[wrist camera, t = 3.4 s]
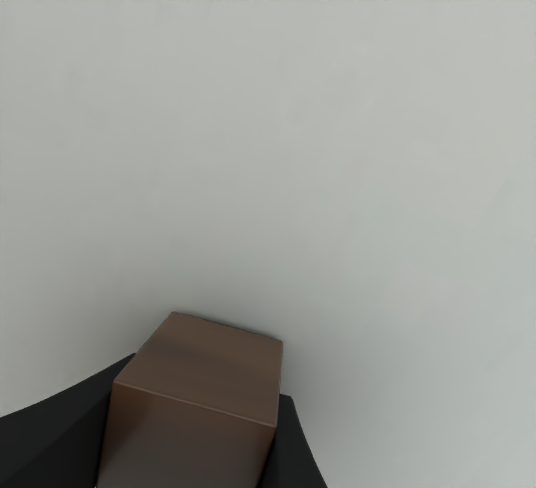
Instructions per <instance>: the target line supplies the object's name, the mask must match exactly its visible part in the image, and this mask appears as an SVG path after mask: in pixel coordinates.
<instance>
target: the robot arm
mask: <svg viewBox="0 0 536 488" xmlns="http://www.w3.org/2000/svg"><path fill="white" fill-rule="evenodd" d="M135 355H136V353H133V354H131V355H129V356H127V357H126V358H124V359H122V360H120V361H118V362H116V363H115V364H113V365H111V366H109V367H108V368H106V369H104V370H102V371H100V372H99V373H97V374H95V375H93V376H91V377H89V378H87V379H85V380H84V381H82V382H80V383H78V384H76V385H74V386H72V387H70V388H68V389H66V390H64V391H62V392H60V393H57V394H55V395H53V396H51V397H49V398H47V399H45V400H43V401H40V402H38V403H36V404H33V405H31V406H29V407H26V408H24V409H21V410H19V411H16V412H14V413H11V414H8V415H6V416H3V417H1V418H0V488H95V486H96V482H97V476H98V470H99V464H100V458H101V451H102V445H103V439H104V433H105V427H106V421H107V415H108V409H109V403H110V397H111V391H112V385H113V380H114V379H115V378H116V377H117V376H118V374H119V373H120V372H121V371H122V370H123V369H124V367H125V366H126V365H127V364H128V363H129V362H130V360H131V359H132V358H133V357H134V356H135ZM258 488H328V487H327V485H326V483H325V481H324V479H323V477H322V475H321V473H320V471H319V469H318V467H317V464H316V462H315V460H314V458H313V455H312V453H311V450H310V448H309V445H308V443H307V440H306V438H305V435H304V433H303V430H302V427H301V424H300V421H299V418H298V415H297V412H296V409H295V406H294V402H293V399H292V398H291V396H287V395H284V394H280V393H279V405H278V418H277V428H276V431H275V434H274V437H273V441H272V444H271V447H270V450H269V454H268V457H267V460H266V463H265V467H264V470H263V473H262V476H261V480H260V483H259V486H258Z"/></svg>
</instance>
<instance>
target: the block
mask: <svg viewBox="0 0 536 488" xmlns="http://www.w3.org/2000/svg"><path fill="white" fill-rule="evenodd" d="M282 353H283V342H282V341H279V340H276V339H272V338H268V337H265V336H261V335H257V334H254V333H250V332H246V331H243V330H239V329H235V328H232V327H228V326H224V325H221V324H217V323H213V322H210V321H206V320H202V319H199V318H195V317H191V316H188V315H184V314H180V313H177V312H172V313H171V314H170V315H169V316H168V317H167V318H166V320H165V321H164V322H163V323H162V324H161V325H160V327H159V328H158V329H157V330H156V331H155V332H154V334H153V335H152V336H151V337H150V338H149V339H148V341H147V342H146V343H145V344H144V345H143V346H142V348H141V349H140V350H139V351H138V352H137V353H136V355H135V356H134V357H133V358H132V359H131V360H130V362H129V363H128V364H127V365H126V366H125V367H124V369H123V370H122V371H121V372H120V373H119V374H118V376H117V377H116V378H115V379H114V380H113V385H112V391H111V397H110V403H109V409H108V415H107V421H106V427H105V433H104V439H103V445H102V451H101V458H100V464H99V470H98V476H97V482H96V488H258V486H259V483H260V480H261V476H262V473H263V470H264V467H265V463H266V460H267V457H268V454H269V450H270V447H271V444H272V441H273V437H274V434H275V431H276V428H277V418H278V405H279V392H280V379H281V366H282Z"/></svg>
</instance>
